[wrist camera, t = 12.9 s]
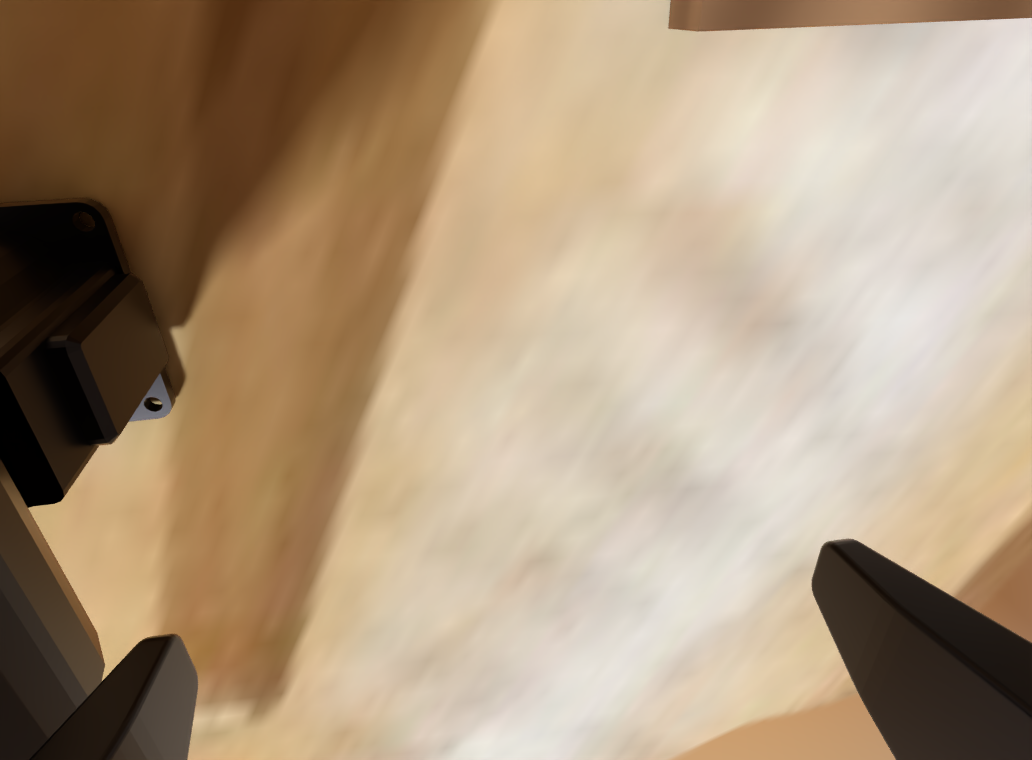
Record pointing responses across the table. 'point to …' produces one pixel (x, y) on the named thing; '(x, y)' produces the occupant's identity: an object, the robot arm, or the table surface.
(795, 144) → the table surface
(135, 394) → the robot arm
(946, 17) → the walnut corral
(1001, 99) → the table surface
